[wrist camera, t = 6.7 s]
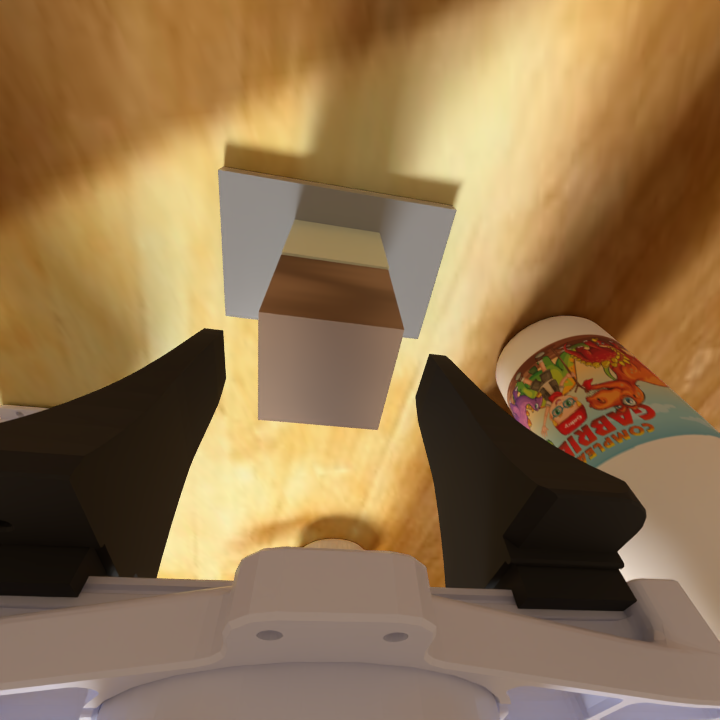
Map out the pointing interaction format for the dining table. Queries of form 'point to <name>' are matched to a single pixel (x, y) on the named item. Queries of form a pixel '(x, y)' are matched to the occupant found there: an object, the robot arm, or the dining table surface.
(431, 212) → the plate
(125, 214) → the dining table surface
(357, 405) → the walnut block
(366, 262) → the sage block
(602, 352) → the milk bottle
